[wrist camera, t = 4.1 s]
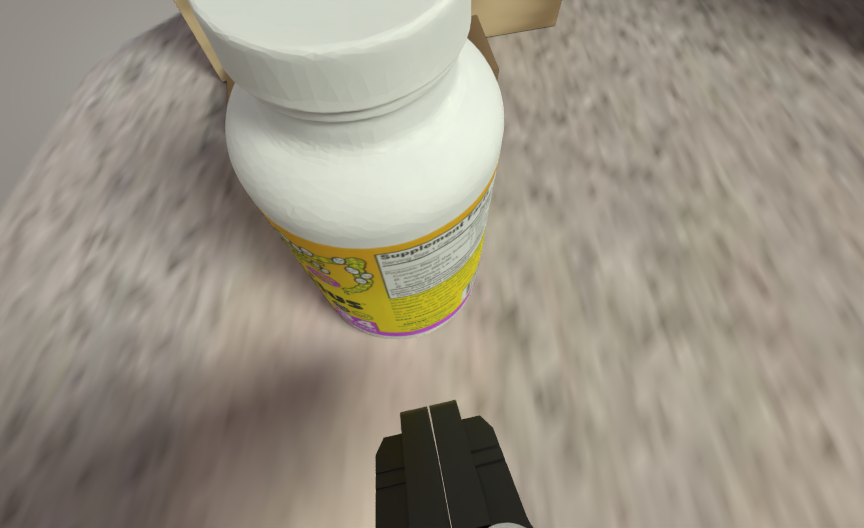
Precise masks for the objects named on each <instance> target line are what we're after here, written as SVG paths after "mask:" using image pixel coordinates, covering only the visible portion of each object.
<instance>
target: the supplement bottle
mask: <svg viewBox="0 0 864 528" xmlns="http://www.w3.org/2000/svg"><path fill="white" fill-rule="evenodd" d="M188 2H189V5H190V7H191V9H192V11H193V13H194V15H195V17H196V19H197V21H198V23H199V24H200V26H201V28H202V30H203V32H204V33H205V35H206V37H207V39H208V41H209V42H210V44H211V46H212V48H213V50H214V51H215V53H216V55H217V57H218V59H219V61H220V64H221V65H222V67H223V69H224V70H225V72H226V73H227V74H228V75H229V76H230V78H231V79H232V80H233V81H234V82H235V84H234V86H233V89H232V91H231V94H230V98H229V101H228V105H227V112H226V119H225V136H226V145H227V149H228V154H229V158H230V161H231V163H232V166H233V169H234V171H235V173H236V175H237V177H238V179H239V181H240V183H241V184H242V186H243V188H244V189H245V191H246V192H247V194H248V195H249V196H250V197H251V199H252V200H253V202H254V203H255V205H256V206H257V207H258V208H259V210H260V211H261V212H262V213H263V215H264V216H265V217H266V219H267V220H268V221H269V223H270V224H271V225H272V227H273V228H274V229H275V230H276V232H277V233H278V234H279V236H280V237H281V239H282V240H283V241H284V242H285V244H286V245H287V246H288V248H289V249H290V250H291V252H292V253H293V254H294V256H295V257H296V258H297V260H298V261H299V262H300V264H301V265H302V266H303V268H304V269H305V271H306V272H307V273H308V274H309V276H310V277H311V278H312V280H313V281H314V282H315V284H316V285H317V286H318V288H319V289H320V290H321V291H322V293H323V294H324V295H325V297H326V298H327V299H328V301H329V302H330V303H331V305H332V306H333V307H334V308H335V309H336V311H337V312H338V313H339V314H340V315H341V316H342V317H343V318H344V319H345V320H346V321H348V322H349V323H350V324H351V325H353V326H354V327H356V328H358V329H359V330H361V331H363V332H365V333H368V334H370V335H374V336H377V337H382V338H388V339H407V338H414V337H418V336H422V335H425V334H428V333H430V332H432V331H434V330H436V329H438V328H440V327H441V326H443V325H444V324H445V323H447V322H448V321H449V320H451V319H452V318H453V317H454V316H455V315H456V314H457V313H458V312H459V311H460V310H461V308H462V307H463V306H464V304H465V303H466V301H467V299H468V298H469V296H470V293H471V291H472V289H473V286H474V283H475V279H476V275H477V271H478V266H479V260H480V255H481V250H482V245H483V240H484V234H485V228H486V222H487V217H488V211H489V206H490V201H491V196H492V191H493V185H494V181H495V176H496V170H497V165H498V161H499V156H500V150H501V143H502V138H503V131H504V108H503V101H502V97H501V92H500V89H499V86H498V83H497V80H496V78H495V76H494V73H493V71H492V69H491V67H490V66H489V64H488V62H487V61H486V59H485V58H484V56H483V55H482V54H481V52H480V51H479V50H478V49H477V48H476V46H475V45H474V44H473V43H472V42H471V41H470V40H469V39H468V38H467V36H468V33H469V30H470V24H471V0H188Z"/></svg>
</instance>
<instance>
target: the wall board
mask: <svg viewBox="0 0 864 528" xmlns="http://www.w3.org/2000/svg"><path fill="white" fill-rule="evenodd" d="M561 1H562V0H471V24H470V30H469V33H468V36H467V38H468V39H469V40H470V41H471V42H472V43H473V44H474V45H475V46H476V48H477V49H478V50H479V51H480V52H481V54H482V55H483V56H484V58H485V59H486V61H487V62H488V64H489V66H490V67H491V69H492V71H493V73H494V76H495V78H496V80H498V73H499V68H498V66H497V63H496V61H495V58H494V56H493V53H492V51H491V48H490V46H489V43H488V41H487V38H486V37H490V36H496V35H502V34H508V33H514V32H520V31H526V30H532V29H538V28H544V27H550V26H555V24H556V21H557V17H558V13H559V9H560V5H561ZM174 2H175V3H176V5H177V7H178V8H179V10H180V12H181V14H182V15H183V17H184V19H185V20H186V22H187V24H188V25H189V27H190V29H191V30H192V32H193V34H194V35H195V37H196V39H197V40H198V42H199V44H200V45H201V47H202V49H203V50H204V52H205V54H206V56H207V57H208V59H209V61H210V62H211V64H212V66H213V67H214V69H215V71H216V72H217V74H218V76H219V77H220V79H221V81H222V82H225V81H227V105H228V101H229V98H230V94H231V91H232V89H233V86H234V84H235V82H234V81H233V80H232V79H231V78H230V76H229V75H228V74H227V73H226V72H225V70H224V69H223V67H222V65H221V64H220V61H219V59H218V57H217V55H216V53H215V51H214V50H213V48H212V46H211V44H210V42H209V41H208V39H207V37H206V35H205V33H204V32H203V30H202V28H201V26H200V24H199V23H198V21H197V19H196V17H195V15H194V13H193V11H192V9H191V7H190V5H189V2H188V0H174Z"/></svg>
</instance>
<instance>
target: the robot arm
mask: <svg viewBox="0 0 864 528" xmlns="http://www.w3.org/2000/svg"><path fill="white" fill-rule="evenodd" d="M429 407H430V413H431V418H432V423H433V429H434V434H435V439H436V445H437V450H438V455H439V460H438V455H437V451H436V446H435V441H434V437H433V432H432V427H431V422H430V418H429V413H428V409H427V407H422V408H418V409H414V410H409V411H405V412H401V413H400V418H401V430H402V434H398V435H393V436H389V437H385V438H383V441H382V443H381V445H380V447H379V449H378V451H377V454H376V528H451V525H452V528H533V527H532V525H531V524H530V522H529V520H528V518H527V516H526V513H525V511H524V508H523V506H522V503H521V500H520V498H519V495H518V492H517V490H516V487H515V485H514V482H513V479H512V477H511V474H510V471H509V469H508V466H507V464H506V462H505V458H504V456H503V453H502V450H501V448H500V446H499V443H498V440H497V437H496V435H495V432H494V429H493V427H492V426H490V425H489V424H488V423H487V422H486V421H485V420H484V419H483V418H482V417H481V416H480V415H479V416H475V417H471V418H466V419H462V420H461V416H460V413H459V409H458V406H457V402H456V400H453V401H448V402H444V403H439V404H435V405H431V406H429ZM439 461H440V465H439ZM440 466H441V471H442V476H441V471H440ZM442 477H443V481H442ZM443 482H444V487H445V492H444V487H443ZM445 493H446V498H447V503H446V498H445ZM447 504H448V508H447ZM448 509H449V514H450V519H449V514H448ZM450 520H451V525H450Z"/></svg>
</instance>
